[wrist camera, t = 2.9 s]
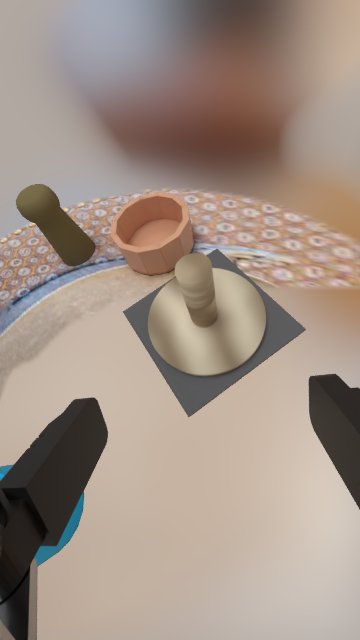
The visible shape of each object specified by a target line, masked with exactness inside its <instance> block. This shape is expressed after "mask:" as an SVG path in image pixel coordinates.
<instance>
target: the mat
mask: <svg viewBox="0 0 360 640" xmlns="http://www.w3.org/2000/svg"><path fill="white" fill-rule="evenodd" d="M207 257H208V258H209V259H210V261H211V263H212V268H219V269H224V270H228V271H231V272H234V273H236V274H238V275H240V276H242V277H243V278H245V279H246V280H247V281H249V282H250V283H251V284H252V285H253V286H254V287H255V288H256V290H257V291H258V293H259V294H260V296H261V298H262V300H263V303H264V306H265V311H266V326H265V331H264V334H263V337H262V340H261V342H260V345H259V347H258V348H257V350H256V351H255V353H254V354H253V355H252V356H251V357H250V359H249V360H247V361H246V362H245V363H244V364H243V365H241V366H240V367H238V368H236V369H234V370H232V371H230V372H228V373H225V374H221V375H217V376H207V377H202V376H194V375H190V374H186V373H184V372H181V371H179V370H177V369H175V368H173V367H172V366H171V365H169V364H168V363H167V362H166V361H165V360H164V359H163V358H162V357H161V356H160V355H159V354H158V352H157V351H156V350H155V348H154V346H153V344H152V342H151V339H150V336H149V332H148V316H149V311H150V308H151V305H152V303H153V301H154V299H155V297H156V296H157V294H158V293H159V291H160V290H161V289H162V288H163V287H164V286H165V285H166V284H167V283H168V282H170V281H171V280H172V279H171V280H170V281H168V282H167V283H165V284H164V285H162V286H161V287H159V288H158V289H156V290H155V291H153V292H152V293H150V294H149V295H147V296H146V297H144V298H143V299H141V300H140V301H138V302H137V303H135V304H134V305H132V306H131V307H129V308H128V309H126V310H125V311H123V313H124V314H125V316H126V318H127V319H128V321H129V322H130V323H131V325H132V327H133V329H134V330H135V332H136V334H137V335H138V337H139V338H140V340H141V341H142V343H143V345H144V346H145V348H146V349H147V351H148V353H149V354H150V356H151V357H152V359H153V361H154V362H155V364H156V365H157V367H158V369H159V370H160V372H161V373H162V375H163V377H164V378H165V380H166V382H167V383H168V385H169V386H170V388H171V389H172V391H173V393H174V394H175V396H176V398H177V399H178V401H179V402H180V404H181V406H182V407H183V409H184V410H185V412H186V414H187V415H188V417H190V416H191V415H193V414H194V413H195V412H197V411H198V410H199V409H201V408H202V407H203V406H205V405H206V404H207V403H209V402H210V401H211V400H213V399H214V398H215V397H217V396H218V395H219V394H221V393H222V392H223V391H225V390H226V389H227V388H229V387H230V386H231V385H233V384H234V383H235V382H237V381H238V380H239V379H241V378H242V377H243V376H245V375H246V374H248V373H249V372H250V371H251V370H253V369H254V368H255V367H257V366H258V365H259V364H261V363H262V362H264V361H265V360H266V359H268V358H269V357H270V356H271V355H273V354H274V353H276V352H277V351H278V350H280V349H281V348H282V347H284V346H285V345H286V344H288V343H289V342H290V341H292V340H293V339H294V338H296V337H297V336H298V335H300V334H301V333H302V332H304V331H305V330H306V329H305V328H304V327H303V326H302V325H300V324H299V323H298V322H297V321H296V320H295V319H294V318H293V317H291V315H289V314H288V313H287V312H286V311H285V310H284V309H283V308H282V307H281V306H280V305H278V304H277V303H276V302H275V301H274V300H273V299H272V298H271V297H270V296H268V294H266V293H265V292H264V291H263V290H262V289H261V288H260V287H259V286H258V285H256V284H255V283H254V282H253V281H252V280H251V279H250V278H249V277H248V276H247V275H245V274H244V273H243V272H242V271H241V270H240V269H239V268H238V267H237V266H236V265H234V264H233V263H232V262H231V261H230V260H229V259H228V258H227V257H226V256H225V255H223V254H222V253H221V252H220V251H219V250H218V249H216V250H214V251H213V252H211V253H210V254H208V255H207ZM174 278H175V277H174ZM174 278H173V279H174Z"/></svg>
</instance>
